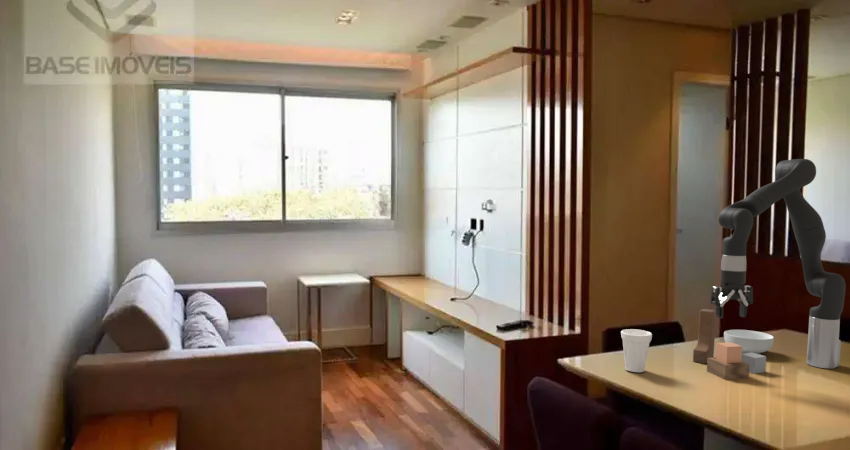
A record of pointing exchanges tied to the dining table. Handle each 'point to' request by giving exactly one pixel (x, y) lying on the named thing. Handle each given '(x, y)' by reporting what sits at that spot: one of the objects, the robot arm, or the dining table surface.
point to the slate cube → (754, 362)
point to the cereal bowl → (750, 340)
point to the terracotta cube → (728, 352)
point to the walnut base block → (727, 369)
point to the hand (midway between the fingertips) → (731, 317)
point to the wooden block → (705, 336)
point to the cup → (635, 348)
